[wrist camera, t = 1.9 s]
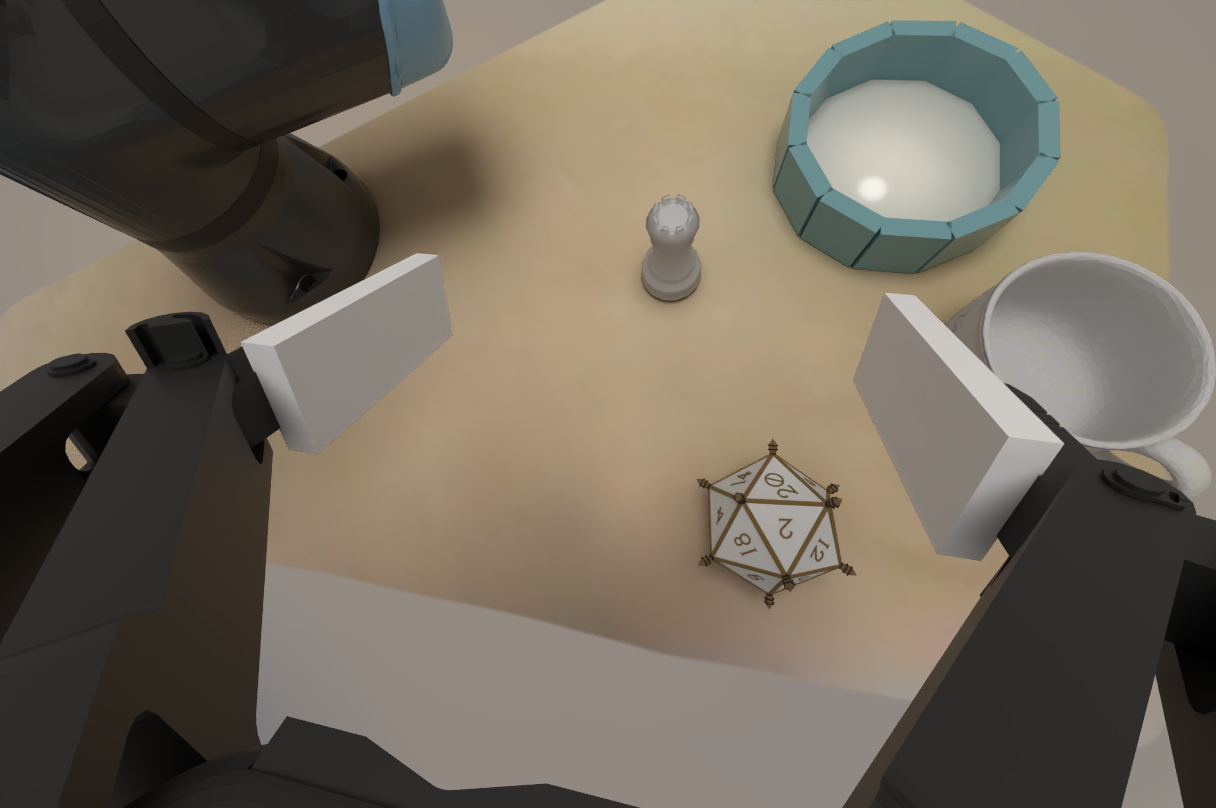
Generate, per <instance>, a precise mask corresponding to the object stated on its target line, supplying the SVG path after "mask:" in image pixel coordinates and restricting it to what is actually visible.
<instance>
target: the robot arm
mask: <svg viewBox="0 0 1216 808" xmlns="http://www.w3.org/2000/svg"><path fill="white" fill-rule="evenodd" d="M452 46H453V36H452V30H451V26H450V23H449V19H448V16H447V13H446V10H445V6H444V3H443V0H0V174H1V175H3V176H5V177H7V178H9V179H11V180H13V181H15V182H18V183H19V184H22V185H24V186H26V187H28V188H30V189H32V190H34V191H36V192H38V193H41V194H43V195H45V196H47V197H49V198H51V199H53V200H55V201H58V202H59V203H62V204H64V205H66V206H68V207H70V208H72V209H74V210H76V211H78V212H81V213H83V214H85V215H87V216H89V217H91V218H93V219H95V220H98V221H99V222H102V223H104V224H106V225H108V226H110V227H112V228H114V229H116V230H119V231H120V232H123V233H125V234H127V235H129V236H131V237H133V238H135V239H137V240H139V241H141V242H143V243H145V244H147V245H149V246H151V247H153V248H155V249H157V250H159V251H160V252H162V253H163V254H164V255H165V256H166V257H167V258H168V259H169V260H170V261H171V262H172V263H174V264H175V265H176V266H177V267H178V268H179V269H180V270H181V271H182V272H183V273H185V274H186V275H187V276H188V277H189V278H190V279H191V280H192V281H193V282H194V283H196V284H197V285H198V286H199V287H200V288H201V289H202V290H203V291H204V292H205V293H207V294H208V295H209V296H210V297H211V298H212V299H213V300H214V301H216V302H217V303H219V304H220V305H222V306H223V307H225V308H227V309H229V310H231V311H233V312H235V313H238V314H240V315H242V316H245V317H247V318H249V319H251V320H254V321H257V322H260V323H264V324H269V325H273V326H271V327H269V328H267V329H266V330H264V331H262V332H260V333H258V334H256V335H254V336H252V337H250V338H248V339H246V340H244V341H242V342H241V344H242V347H241V348H239V349H237V350H235V351H233V352H231V353H229V354H227V353H226V351H225V349H224V347H223V345H222V343H221V341H220V339H219V336H218V334H217V332H216V330H215V328H214V326H213V324H212V322H211V320H210V317H209V315H207V314H204V313H201V312H181V313H172V314H167V315H161V316H157V317H153V318H150V319H146V320H143V321H141V322H139V323H136V324H134V325H132V326H130V327H129V328H128V329H127V330H125V332H126V334H127V335H128V337H129V339H130V340H131V342H132V344H133V345H134V347H135V349H136V351H137V352H138V354H139V356H140V357H141V359H142V361H143V362H144V364H145V366H146V367H147V370H146V372H145V374H128V375H126V373H125V371H124V370H123V368H122V367H121V365H120V363H119V362H118V360H117V359H116V357H115V355H112V354H108V353H90V354H73V355H69V356H64V357H60V358H57V359H55V360H53V361H51V362H50V363H48V364H45V365H43V366H41V367H39V368H37V369H35V370H33V371H31V372H30V373H28V374H27V375H25V376H23V377H22V378H20V379H19V380H17V381H16V382H14V383H13V384H11V385H10V386H8V387H7V388H5V389H4V390H2V391H1V392H0V808H638V807H635V806H631V805H627V804H623V803H619V802H616V801H612V800H608V799H604V798H600V797H596V796H592V795H589V794H585V793H581V792H576V791H573V790H569V789H565V788H562V787H558V786H554V785H550V784H535V785H521V786H505V787H491V788H477V789H464V790H443V789H439V788H437V787H435V786H433V785H432V784H430V783H429V782H428V781H426V780H425V779H423V778H422V777H421V776H419V775H418V774H416V773H415V772H414V771H412V770H411V769H410V768H408V767H407V766H406V765H404V764H403V763H401V762H400V761H399V760H397V759H396V758H395V757H393V756H392V755H390V754H389V753H388V752H386V751H385V750H383V749H382V748H381V747H379V746H378V745H377V744H375V743H374V742H372V741H371V740H370V739H368V738H367V737H365V736H361V735H357V734H353V733H349V732H346V731H342V730H338V729H334V728H330V727H326V726H322V725H319V724H315V723H311V722H307V721H303V720H299V719H295V718H291V717H288V716H287V717H286V719H285V720H284V721H283V723H282V724H281V726H280V727H279V729H278V730H277V731H276V733H275V734H274V736H273V737H272V739H271V740H270V741H269V743H268V744H265V745H261V743H260V740H259V736H258V732H257V726H256V705H257V690H258V674H259V659H260V643H261V628H262V612H263V597H264V582H265V566H266V551H267V535H268V520H269V504H270V488H271V473H272V457H273V451H272V448H271V446H270V444H269V442H268V440H267V437H268V436H270V435H271V434H273V433H274V432H275V431H277V430H278V429H280V431H281V433H282V435H283V438H284V440H285V442H286V444H287V447H288V449H289V450H295V451H301V452H307V453H313V454H319V453H320V452H321V451H322V450H323V449H325V448H326V447H327V446H328V445H329V444H330V443H331V442H332V441H334V440H335V439H336V438H337V437H338V436H339V435H340V434H342V433H343V432H344V431H345V430H346V429H347V428H348V427H349V426H351V425H352V424H353V423H354V422H355V421H356V420H357V419H359V418H360V417H361V416H362V415H363V414H364V413H365V412H367V411H368V410H369V409H370V408H371V407H372V406H373V405H374V404H376V403H377V402H378V401H379V400H380V399H381V398H382V397H384V396H385V395H386V394H387V393H388V392H389V391H390V390H391V389H393V388H394V387H395V386H396V385H397V384H398V383H399V382H401V381H402V380H403V379H404V378H405V377H406V376H407V375H408V374H410V373H411V372H412V371H413V370H414V369H415V368H416V367H418V366H419V365H420V364H421V363H422V362H423V361H424V360H425V359H427V358H428V357H429V356H430V355H431V354H432V353H433V352H435V351H436V350H437V349H438V348H439V347H440V346H441V345H443V344H444V343H445V342H446V341H447V340H448V339H449V338H450V337H452V336H453V333H452V327H451V321H450V316H449V310H448V304H447V298H446V293H445V287H444V281H443V275H442V270H441V264H440V258H439V255H431V254H419V253H416V254H414V255H412V256H410V257H408V258H406V259H404V260H402V261H400V262H398V263H396V264H394V265H392V266H390V267H388V268H387V269H385V270H383V271H381V272H379V273H377V274H375V275H373V276H371V277H369V278H367V279H365V280H363V281H361V280H362V278H363V277H364V275H365V273H366V272H367V270H368V268H369V266H370V264H371V262H372V259H373V257H374V254H375V251H376V247H377V243H378V236H379V218H378V212H377V208H376V205H375V202H374V200H373V198H372V196H371V194H370V192H369V191H368V189H367V188H366V187H365V185H364V184H363V183H362V182H361V181H360V180H359V179H358V178H357V177H356V176H355V175H354V174H353V173H352V172H351V171H350V170H349V169H348V168H347V167H346V166H345V165H344V164H343V163H342V162H341V161H339V160H338V159H337V158H335V157H334V156H332V155H330V154H329V153H327V152H325V151H323V150H321V149H319V148H317V147H315V146H313V145H312V144H310V143H308V142H306V141H304V140H302V139H300V138H298V137H297V136H295V135H293V134H291V132H293V131H296V130H298V129H301V128H303V127H306V126H308V125H310V124H313V123H315V122H318V121H321V120H323V119H326V118H328V117H331V116H333V115H336V114H338V113H341V112H343V111H346V110H348V109H351V108H353V107H356V106H358V105H361V104H363V103H366V102H368V101H371V100H373V99H376V98H378V97H381V96H383V95H386V94H388V93H390V94H391V95H392V96H397V95H398V94H399V93H400V92H401V89H402V88H404V87H406V86H408V85H410V84H412V83H414V82H416V81H419V80H421V79H423V78H425V77H427V76H430V75H432V74H434V73H436V72H438V71H439V70H441V69H442V68H443V67H444V66H445V65H446V64H447V62H448V60H449V57H450V55H451V52H452ZM360 281H361V282H360ZM853 381H854V383H855V385H856V387H857V390H858V392H859V394H860V396H861V398H862V400H863V402H864V404H865V406H866V408H867V410H868V412H869V415H870V417H871V419H872V421H873V423H874V425H875V427H876V429H877V431H878V433H879V435H880V437H881V440H882V442H883V444H884V446H885V448H886V450H887V452H888V454H889V456H890V458H891V460H892V462H893V464H894V467H895V469H896V471H897V473H898V475H899V477H900V479H901V481H902V483H903V485H904V487H905V489H906V492H907V494H908V496H909V498H910V500H911V502H912V504H913V506H914V508H915V510H916V512H917V514H918V516H919V519H920V521H921V523H922V525H923V527H924V529H925V531H926V533H927V535H928V537H929V539H930V541H931V544H932V546H933V548H934V550H935V552H936V554H941V555H947V556H954V557H960V558H966V559H972V560H979V561H982V559H983V558H984V556H985V555H986V553H987V552H988V551H989V549H990V548H991V546H992V545H993V544H994V542H995V541H996V539H997V538H998V539H999V540H1000V542H1001V544H1002V545H1003V547H1004V548H1005V550H1006V551H1007V553H1008V555H1009V557H1008V558H1007V560H1006V561H1005V562H1004V564H1003V565H1002V566H1001V568H1000V569H999V570H998V572H997V573H996V574H995V576H994V577H993V578H992V580H991V581H990V582H989V584H988V585H987V586H986V588H985V589H984V590H983V592H982V593H981V594H980V595H979V596H981V598H980V599H979V601H978V602H977V604H976V605H975V607H974V608H973V610H972V611H971V613H970V614H969V616H968V618H967V619H966V621H965V622H964V624H963V625H962V627H961V628H960V630H959V631H958V633H957V634H956V636H955V637H954V639H953V640H952V642H951V643H950V645H949V646H948V648H947V649H946V651H945V652H944V654H943V656H942V657H941V659H940V660H939V662H938V663H937V665H936V666H935V668H934V669H933V671H932V672H931V674H930V675H929V677H928V678H927V680H926V681H925V683H924V684H923V686H922V687H921V689H920V690H919V692H918V694H917V695H916V697H915V698H914V700H913V701H912V703H911V704H910V706H909V708H908V709H907V710H906V712H905V713H904V715H903V717H902V718H901V719H900V721H899V722H898V724H897V726H896V727H895V728H894V730H893V732H892V733H891V735H890V736H889V738H888V739H887V741H886V742H885V744H884V745H883V747H882V748H881V750H880V751H879V753H878V754H877V756H876V758H875V759H874V760H873V762H872V763H871V765H870V767H869V768H868V770H867V771H866V773H865V774H864V776H863V777H862V779H861V780H860V782H859V783H858V785H857V786H856V788H855V789H854V791H853V792H852V794H851V795H850V797H849V799H848V800H847V802H846V803H845V805H844V806H843V808H1121V807H1122V802H1123V799H1124V795H1125V791H1126V787H1127V783H1128V779H1129V775H1130V771H1131V767H1132V763H1133V759H1134V755H1135V752H1136V748H1137V744H1138V740H1139V736H1140V732H1141V728H1142V724H1143V720H1144V716H1145V712H1146V708H1147V704H1148V700H1149V696H1150V693H1151V689H1152V685H1153V681H1154V677H1155V674H1156V679H1157V683H1158V688H1159V693H1160V697H1161V702H1162V707H1163V712H1164V716H1165V721H1166V726H1167V730H1168V735H1169V739H1170V744H1171V749H1172V754H1173V758H1174V763H1175V768H1176V772H1177V777H1178V782H1179V786H1180V791H1181V796H1182V801H1183V805H1184V808H1216V520H1212V519H1209V518H1205V517H1201V516H1198V515H1196V511H1195V508H1194V504H1193V503H1192V502H1191V501H1190V500H1189V499H1188V498H1187V497H1186V496H1185V495H1184V494H1183V493H1182V492H1181V491H1180V490H1178V489H1177V488H1175V487H1174V486H1172V485H1170V484H1169V483H1167V482H1166V481H1164V480H1162V479H1160V478H1158V477H1156V476H1154V475H1152V474H1149V473H1147V472H1145V471H1143V470H1140V469H1137V468H1134V467H1131V466H1128V465H1125V464H1122V463H1118V462H1113V461H1107V460H1101V459H1097V458H1096V457H1094V456H1093V455H1092V454H1091V453H1090V452H1089V451H1088V450H1087V449H1086V448H1085V447H1084V446H1083V445H1082V444H1081V443H1080V442H1079V441H1078V440H1077V439H1075V438H1074V437H1073V436H1072V435H1071V434H1070V433H1069V432H1068V431H1067V430H1066V429H1065V428H1064V427H1060V423H1059V422H1057V421H1056V420H1055V419H1054V418H1053V417H1052V416H1051V415H1047V411H1046V410H1045V409H1044V408H1043V407H1042V406H1041V405H1040V404H1038V403H1037V402H1036V401H1035V400H1034V399H1033V398H1032V397H1030V396H1029V395H1027V394H1025V393H1023V392H1022V391H1020V390H1018V389H1017V388H1015V387H1013V386H1011V385H1010V384H1006V383H1003V382H1002V381H1001V380H1000V379H999V378H998V377H997V376H996V375H995V374H993V373H992V372H991V371H990V370H989V369H988V368H987V367H986V366H985V365H984V364H983V363H982V362H981V361H980V360H979V359H978V358H977V357H976V356H975V355H974V354H973V353H972V352H971V351H970V350H969V349H968V348H967V347H966V346H965V345H964V344H963V343H962V342H961V341H960V340H959V339H958V338H957V337H956V336H955V335H954V334H953V333H952V332H951V331H950V330H949V329H948V328H947V327H946V326H945V325H944V324H943V323H942V322H941V321H940V320H939V319H938V318H937V317H936V316H935V315H934V314H933V313H932V312H931V311H930V310H929V309H928V308H927V307H926V306H925V305H924V304H923V303H922V302H921V301H920V300H919V299H918V298H917V297H916V296H915V295H904V294H893V293H884V295H883V298H882V301H881V304H880V306H879V309H878V312H877V315H876V318H875V320H874V323H873V326H872V329H871V331H870V334H869V337H868V340H867V343H866V345H865V348H864V351H863V354H862V356H861V359H860V362H859V365H858V368H857V370H856V373H855V376H854V379H853ZM68 437H69V438H70V440H71V441H72V442H73V444H74V445H75V446H76V448H77V449H78V450H79V451H80V453H81V454H82V455H83V457H84V458H85V459H86V461H87V463H86V464H85V465H84V466H83V467H82V468H81V469H80V470H78V469H76V468H75V467H74V466H73V465H72V463H71V462H70V461H69V459H68V456H67V454H66V452H65V446H66V440H67V438H68Z"/></svg>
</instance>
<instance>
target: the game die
mask: <svg viewBox="0 0 1216 808" xmlns="http://www.w3.org/2000/svg"><path fill="white" fill-rule="evenodd" d="M768 446H769V449H768V450H769V451H770V454H769V455H767V456H765V457H763V458H761V459H759V460H757V461H756V462H754V463H752V464H750V465H748V466H746V467H744V468H742V469H740V470H738V471H736V472H734V473H733V474H731V475H729V476H727V477H725V478H723V479H721V480H719V481H717V482H715V483H713V484H710V483H709V482H708V481H706V480H705V479H697V481H698V483H699V484H700V487H701V486H702V487H703V488H707V489H708V495H709V526H710V555H709V556H706V555H705V557H702V558H701V561H700V563H699V564H698V565H701V566H706V567H707V565H709V564H711V562H712V561H713V560H714V561H716V562H718V563H719V564H721V565H722V566H724V567H726V568H727V569H729V570H730V571H732V572H733V573H735V574H737V575H738V576H740V577H741V578H743V579H745V580H746V581H748V582H749V583H751V584H753V585H754V586H756V587H757V588H759V589H760V590H762V591H764V592H765V593H766V597H764V598H765V601H764V602H765V603H766V605H767V606H768V608H769V609H770V608H771V606H772V605H774V602H773V600H774V598H773V595H772V594H775V593H777V592H780V591H782V590H785V589H787V590H789V591H790V592H791V590H792V589H793V587H794V586H795V585H797V584H800V583H802V582H805V581H807V580H810V579H812V578H815V577H817V576H820V575H822V574H825V573H827V572H830V571H832V570H835V569H837V568H839V569H841V570H842V572H843V573H846V574H847V576H848V575H856V573H855V571H854V570H853V568H852V566H851V567H850V566H849V565H848V564H843V563H842V562H841V556H840V550H839V545H838V539H837V533H836V528H835V522H834V516H833V510H832V508H833V509H835V507H837V508H839V506H840V503H841V501H842V499H839V498H837V497H832V499H830V494H834V492H837V491H838V488H839V485H834V484H831V485H830V486H828V488H827V489H825V488H824V487H822V486H821V485H819V484H818V483H816V482H815V481H814V480H812V479H811V478H809V477H808V476H806V475H805V474H803V473H802V472H801V471H799V470H798V469H796V468H795V467H793V466H792V465H790V464H789V463H788V462H786V461H785V460H783V459H782V458H780V457H779V456H777V455H776V451H777V450H778V449H777V446H778V445H777V444H776V442H775V441H774V439H772V441H771V442H770V444H769V445H768Z"/></svg>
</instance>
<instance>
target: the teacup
mask: <svg viewBox="0 0 1216 808" xmlns="http://www.w3.org/2000/svg"><path fill="white" fill-rule="evenodd" d="M945 326H946V327H947V328H948V329H949V330H950V331H951V332H952V333H953V334H954V335H955V336H956V337H957V338H958V339H959V340H960V341H961V342H962V343H963V344H964V345H965V346H966V347H967V348H968V349H969V350H970V351H971V352H972V353H973V354H974V355H975V356H976V357H977V358H978V359H979V360H980V361H981V362H982V363H983V364H984V365H985V366H986V367H987V368H988V369H989V370H990V371H991V372H992V373H993V374H995V375H996V376H997V377H998V378H999V379H1000V380H1001V381H1002V382H1003V383H1006V384H1010V385H1011V386H1013V387H1015V388H1017V389H1018V390H1020V391H1022V392H1023V393H1025V394H1027V395H1029V396H1030V397H1032V398H1033V399H1034V400H1035V401H1036V402H1037V403H1038V404H1040V405H1041V406H1042V407H1043V408H1044V409H1045V410H1046V411H1047V415H1051V416H1052V417H1053V418H1054V419H1055V420H1056V421H1057V422H1059V423H1060V427H1064V428H1065V429H1066V430H1067V431H1068V432H1069V433H1070V434H1071V435H1072V436H1073V437H1074V438H1075V439H1077V440H1078V441H1079V442H1080V443H1081V444H1082V445H1083V446H1084V447H1085V448H1086V449H1087V450H1088V451H1089V452H1090V453H1091V454H1092V455H1093V456H1094V457H1096V458H1097V459H1101V460H1107V461H1113V462H1118V463H1122V464H1125V465H1128V466H1131V467H1133V466H1132V465H1130V464H1128V463H1126V462H1125V461H1123V460H1122V459H1120V458H1119V457H1117V456H1116V455H1114V454H1113V453H1111V452H1110V451H1109V450H1121V451H1128V452H1134V453H1138V454H1141V455H1144V456H1146V457H1149V458H1151V459H1153V460H1155V461H1157V462H1159V463H1160V464H1161V465H1162V466H1163V467H1164V468H1165V469H1166V470H1167V471H1168V472H1169V473H1170V475H1171V477H1172V479H1173V481H1169V480H1164V479H1162V480H1164V481H1166V482H1167V483H1169V484H1170V485H1172V486H1174V487H1175V488H1177V489H1178V490H1180V491H1181V492H1182V493H1183V494H1184V495H1185V496H1186V497H1187V498H1188V499H1192V498H1194V497H1196V496H1197V495H1199V494H1200V493H1201V492H1203V491H1204V490H1205V489H1206V488H1207V487H1208V486H1209V485H1210V482H1211V474H1212V473H1211V470H1210V468H1209V466H1208V464H1207V462H1206V461H1205V459H1204V458H1203V457H1202V456H1201V455H1200V454H1199V453H1198V452H1196V451H1195V450H1194V449H1193V448H1191V447H1190V446H1188V445H1186V444H1184V443H1183V442H1181V441H1179V440H1177V439H1175V438H1173V436H1175V435H1177V434H1179V433H1180V432H1182V431H1183V430H1184V429H1186V428H1187V427H1188V426H1189V425H1190V424H1191V423H1192V422H1194V421H1195V419H1196V418H1197V417H1198V416H1199V414H1200V412H1201V411H1202V410H1203V409H1204V408H1205V407H1206V405H1207V403H1208V402H1209V400H1210V398H1211V395H1212V393H1213V389H1214V386H1215V378H1216V362H1215V351H1214V349H1213V346H1212V341H1211V338H1210V336H1209V333H1208V331H1207V329H1206V327H1205V326H1204V324H1203V322H1202V319H1201V317H1200V316H1199V315H1198V313H1197V312H1196V310H1195V309H1194V307H1193V306H1192V305H1191V304H1190V303H1189V302H1188V300H1187V299H1186V298H1185V297H1184V296H1183V295H1182V294H1181V293H1180V292H1179V291H1178V290H1176V288H1174V287H1173V286H1172V285H1170V284H1169V283H1168V282H1166V281H1165V280H1164V279H1162V278H1161V277H1159V276H1158V275H1156V274H1154V273H1153V272H1151V271H1149V270H1147V269H1145V268H1144V267H1142V266H1140V265H1138V264H1135V263H1133V262H1130V261H1127V260H1125V259H1122V258H1118V257H1115V256H1111V255H1105V254H1100V253H1094V252H1066V253H1059V254H1051V255H1048V256H1044V257H1041V258H1037V259H1035V260H1032V261H1029V262H1027V263H1025V264H1023V265H1022V266H1020V267H1018V268H1017V269H1015V270H1014V271H1012V272H1011V273H1009V274H1008V275H1007V276H1005V277H1004V278H1003V279H1002V280H1001V281H1000V282H999V283H998V284H997V285H995V286H994V287H992V288H991V289H989V290H988V291H986V292H985V293H983V294H982V295H981V296H979V297H978V298H976V299H975V300H973V301H972V302H971V303H969V304H968V305H967V306H965V307H964V308H963V309H962V310H960V311H959V312H958V313H957V314H956V315H955V316H954V317H952V318H951V319H950V320H949V321H948V322H947V324H946V325H945ZM1134 468H1135V467H1134Z"/></svg>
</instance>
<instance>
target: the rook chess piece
mask: <svg viewBox="0 0 1216 808" xmlns="http://www.w3.org/2000/svg"><path fill="white" fill-rule="evenodd" d="M698 228H699V215H698V213H697V211H696V209H695V208H694V207H693V205H692V203H691V202H690V203H689V202H686V201H685V197H684V196H681V195H677V199H670V195H667V196H664V197H662V202H659V203H658V204H657V203H655V205H654V207H653V208H652V209H651V210H650V212H649V214H648V216H647V219H646V229H647V231H648V233H649V236H650V237H651V238H650V240H651V243H652V245H653V247H651V248H650V249H649V250H648V252H647V254H646V256H645V258H644V260H643V262H642V281H643V283H644V286H645V288H646V289H647V290H648V291H649V292H650V293H651V294H652V295H653V296H655V297H657V298H660V299H662V300H678V299H681V298H684V297H686V296H688V295H689V294H690V293H691V292H692V291H693V290H695V289H696V287H697V285H698V283H699V281H700V279H701V261H700V259H699V256H698V254H697V252H696V250H695V249H694V248H693V247H692V246H691V245H692V243H693V241H694V236H695V235H696V233H697V231H698Z"/></svg>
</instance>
